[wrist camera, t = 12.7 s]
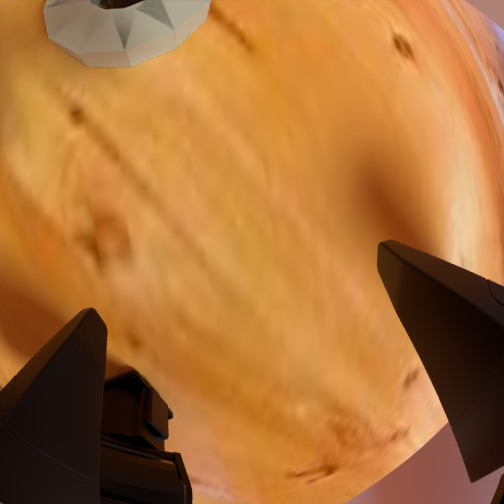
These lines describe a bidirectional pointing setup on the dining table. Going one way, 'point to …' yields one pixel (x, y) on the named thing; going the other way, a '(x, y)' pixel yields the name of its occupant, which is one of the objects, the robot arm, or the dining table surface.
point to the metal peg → (122, 3)
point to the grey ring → (121, 29)
